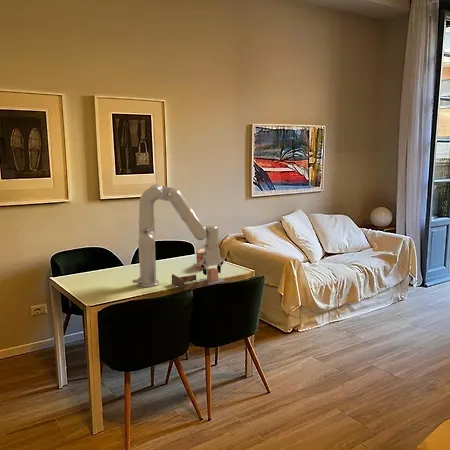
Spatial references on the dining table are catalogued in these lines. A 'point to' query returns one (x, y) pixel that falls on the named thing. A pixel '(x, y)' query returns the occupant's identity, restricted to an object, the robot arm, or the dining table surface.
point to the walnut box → (180, 283)
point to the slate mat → (214, 281)
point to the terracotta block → (212, 274)
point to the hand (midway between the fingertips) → (211, 273)
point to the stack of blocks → (200, 258)
